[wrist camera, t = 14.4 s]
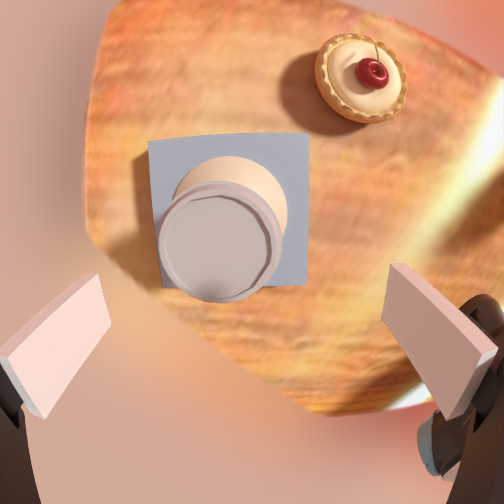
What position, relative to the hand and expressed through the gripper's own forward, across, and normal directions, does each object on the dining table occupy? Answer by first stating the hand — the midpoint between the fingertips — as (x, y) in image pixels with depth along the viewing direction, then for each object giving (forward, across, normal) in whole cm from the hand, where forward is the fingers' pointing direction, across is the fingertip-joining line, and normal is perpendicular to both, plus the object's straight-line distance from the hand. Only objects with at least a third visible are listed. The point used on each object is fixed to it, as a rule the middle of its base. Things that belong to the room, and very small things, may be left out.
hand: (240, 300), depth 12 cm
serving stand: (+25, +2, 0) cm, 25 cm away
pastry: (+25, -14, -16) cm, 33 cm away
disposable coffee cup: (+21, +2, 0) cm, 21 cm away
